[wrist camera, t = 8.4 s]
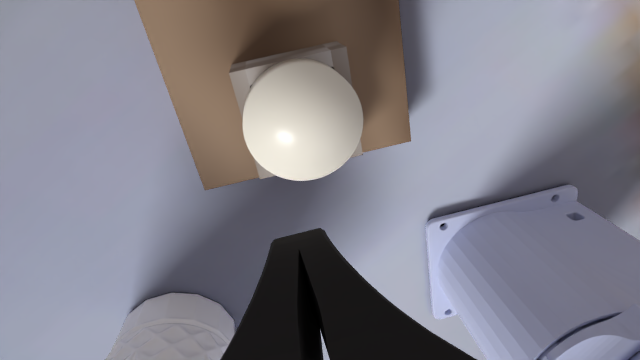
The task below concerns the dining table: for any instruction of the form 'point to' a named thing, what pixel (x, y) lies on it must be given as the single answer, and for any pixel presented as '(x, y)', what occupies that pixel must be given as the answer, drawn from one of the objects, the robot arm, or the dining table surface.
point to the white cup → (174, 330)
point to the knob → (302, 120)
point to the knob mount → (260, 54)
